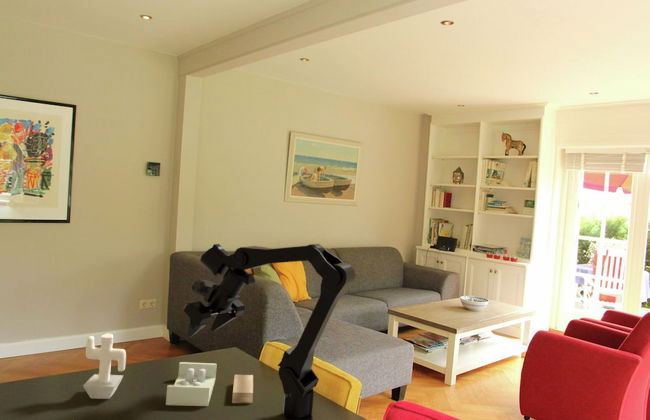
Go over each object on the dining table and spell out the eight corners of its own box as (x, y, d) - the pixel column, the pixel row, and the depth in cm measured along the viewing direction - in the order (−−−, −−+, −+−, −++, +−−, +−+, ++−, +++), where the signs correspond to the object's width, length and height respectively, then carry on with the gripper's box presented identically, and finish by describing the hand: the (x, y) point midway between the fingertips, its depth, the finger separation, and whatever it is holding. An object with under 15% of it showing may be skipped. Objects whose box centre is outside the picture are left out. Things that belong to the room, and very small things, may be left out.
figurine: (118, 401, 114) (122, 340, 114) (76, 400, 113) (81, 338, 113) (127, 389, 122) (131, 331, 121) (88, 388, 120) (93, 329, 120)
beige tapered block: (252, 385, 132) (253, 375, 132) (252, 404, 120) (252, 392, 120) (233, 385, 131) (234, 374, 131) (231, 404, 119) (232, 392, 119)
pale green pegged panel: (215, 379, 133) (216, 363, 133) (207, 406, 116) (209, 388, 116) (178, 378, 132) (180, 362, 132) (165, 404, 115) (167, 386, 115)
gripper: (231, 266, 135) (205, 309, 138) (185, 270, 118) (156, 318, 121) (257, 291, 131) (229, 334, 134) (213, 299, 114) (182, 348, 117)
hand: (200, 333), depth 127 cm, fingers open, 9 cm apart
